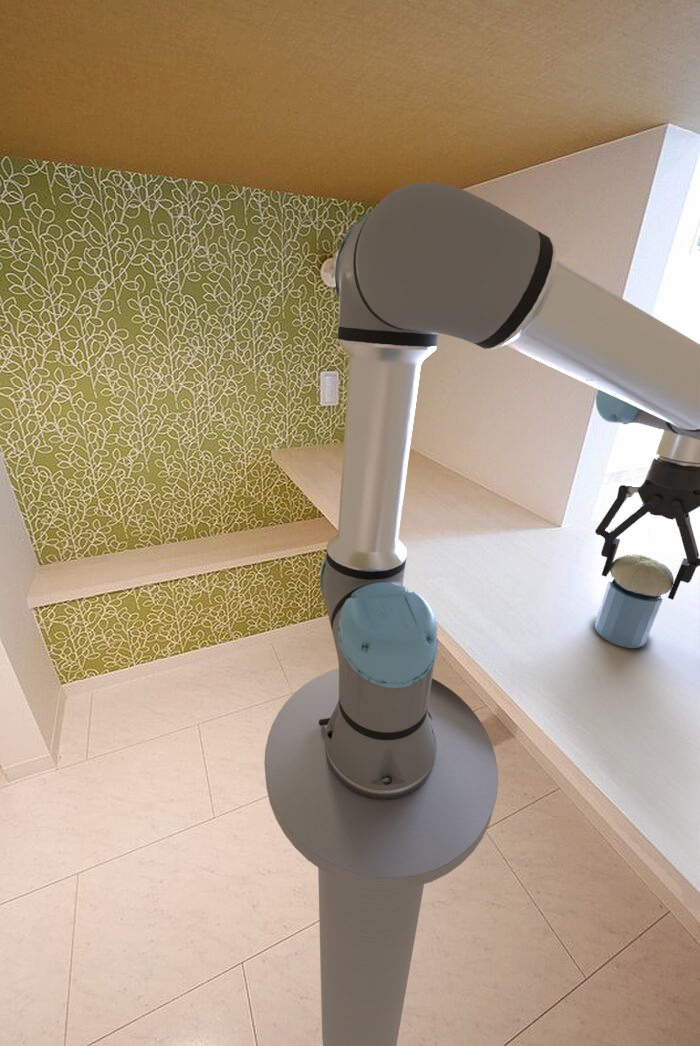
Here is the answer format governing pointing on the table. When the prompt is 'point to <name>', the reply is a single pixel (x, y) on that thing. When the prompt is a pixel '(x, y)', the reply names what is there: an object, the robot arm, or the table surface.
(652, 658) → the table surface
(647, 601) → the tumbler
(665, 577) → the sea urchin shell
